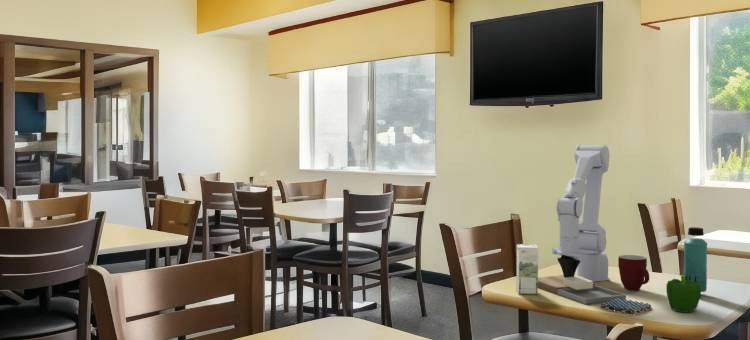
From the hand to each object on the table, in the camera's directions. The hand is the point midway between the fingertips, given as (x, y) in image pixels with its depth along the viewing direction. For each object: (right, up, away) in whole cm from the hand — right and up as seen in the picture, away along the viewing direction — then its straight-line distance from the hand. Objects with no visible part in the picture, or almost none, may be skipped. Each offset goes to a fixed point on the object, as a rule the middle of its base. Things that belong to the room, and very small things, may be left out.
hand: (568, 280), depth 203 cm
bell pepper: (+23, -4, -25) cm, 34 cm away
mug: (+20, -3, -1) cm, 20 cm away
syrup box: (-14, -3, -3) cm, 14 cm away
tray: (+4, -3, -9) cm, 11 cm away
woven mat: (+9, -5, -23) cm, 25 cm away
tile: (+2, -1, -4) cm, 4 cm away
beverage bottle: (+35, -3, -7) cm, 36 cm away
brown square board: (-1, -3, +3) cm, 4 cm away
